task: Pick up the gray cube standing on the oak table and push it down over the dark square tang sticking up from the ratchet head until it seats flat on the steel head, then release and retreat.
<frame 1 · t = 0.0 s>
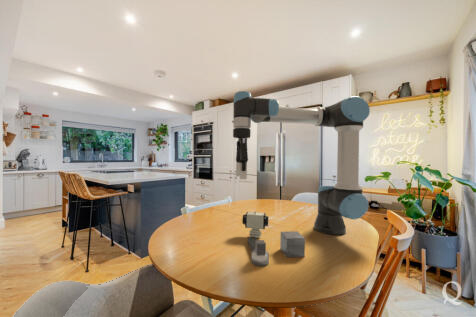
hand: (240, 177, 86), 28 cm above the table, fingers open, 13 cm apart
pneumatic valve: (255, 237, 93), on the table
gray cube: (292, 252, 78), on the table
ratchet: (260, 261, 70), on the table
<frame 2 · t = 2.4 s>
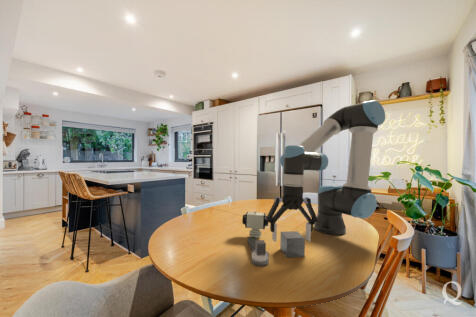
hand: (291, 240, 78), 5 cm above the table, fingers open, 13 cm apart
nothing on the table moved.
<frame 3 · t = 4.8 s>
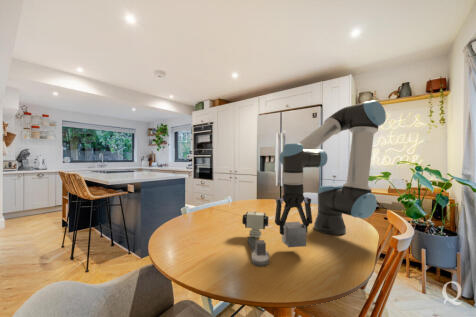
hand: (293, 242, 78), 4 cm above the table, fingers closed on gray cube, 7 cm apart
gray cube: (293, 242, 78), point 4 cm above the table, touching gripper
everything else where it was.
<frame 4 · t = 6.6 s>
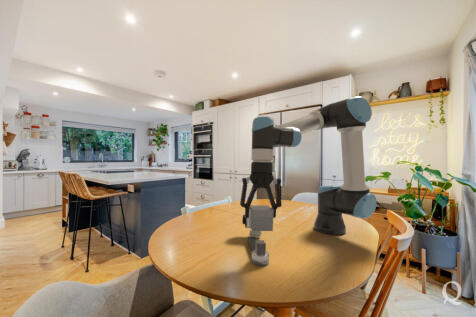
hand: (260, 226, 70), 12 cm above the table, fingers closed on gray cube, 7 cm apart
gray cube: (260, 227, 70), point 12 cm above the table, touching gripper
everything else where it was.
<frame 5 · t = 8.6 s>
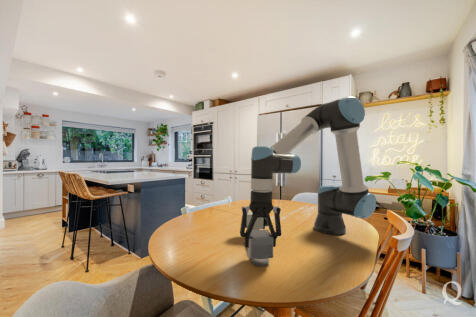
hand: (260, 255, 70), 2 cm above the table, fingers closed on gray cube, 7 cm apart
gray cube: (260, 253, 70), point 3 cm above the table, touching gripper, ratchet
everything else where it was.
when the fingers open (2 cm above the table, at t = 9.5 s): gray cube stays where it is, resting on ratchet.
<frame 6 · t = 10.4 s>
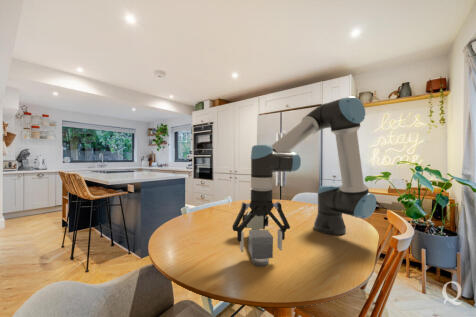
hand: (261, 249, 70), 4 cm above the table, fingers open, 13 cm apart
gray cube: (260, 253, 70), point 3 cm above the table, touching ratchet
everything else where it was.
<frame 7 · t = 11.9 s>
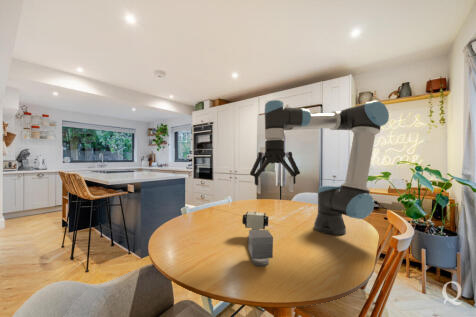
hand: (275, 192, 81), 23 cm above the table, fingers open, 13 cm apart
nothing on the table moved.
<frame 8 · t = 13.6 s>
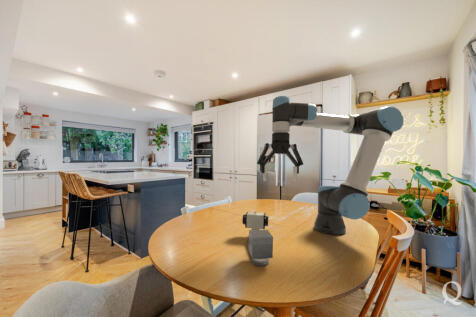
hand: (279, 181, 88), 27 cm above the table, fingers open, 13 cm apart
nothing on the table moved.
at the end: gray cube 0.1 cm off-centre on the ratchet, point 3.0 cm above the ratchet's base; the gripper is holding nothing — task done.
